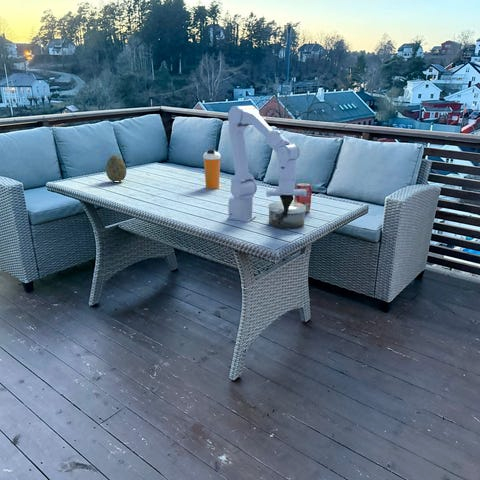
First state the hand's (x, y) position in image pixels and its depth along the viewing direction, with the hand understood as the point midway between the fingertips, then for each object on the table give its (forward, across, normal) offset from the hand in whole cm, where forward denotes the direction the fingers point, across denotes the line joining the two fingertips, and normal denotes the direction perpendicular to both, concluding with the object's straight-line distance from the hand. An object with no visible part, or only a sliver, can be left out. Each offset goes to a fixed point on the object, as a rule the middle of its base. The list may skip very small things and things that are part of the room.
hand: (285, 214), depth 153 cm
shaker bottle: (+6, -25, +71) cm, 75 cm away
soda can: (+7, +12, +25) cm, 28 cm away
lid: (0, +1, +7) cm, 7 cm away
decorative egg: (+6, -77, +87) cm, 116 cm away
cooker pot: (+6, +1, +7) cm, 9 cm away
